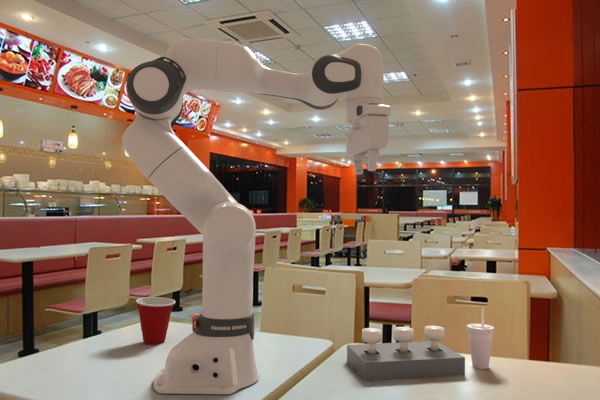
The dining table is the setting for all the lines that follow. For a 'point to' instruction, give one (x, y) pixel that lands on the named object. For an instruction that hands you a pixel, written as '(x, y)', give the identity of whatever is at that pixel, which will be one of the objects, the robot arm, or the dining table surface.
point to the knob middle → (403, 337)
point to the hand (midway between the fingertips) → (365, 172)
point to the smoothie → (480, 343)
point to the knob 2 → (434, 336)
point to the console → (404, 361)
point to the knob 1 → (371, 338)
